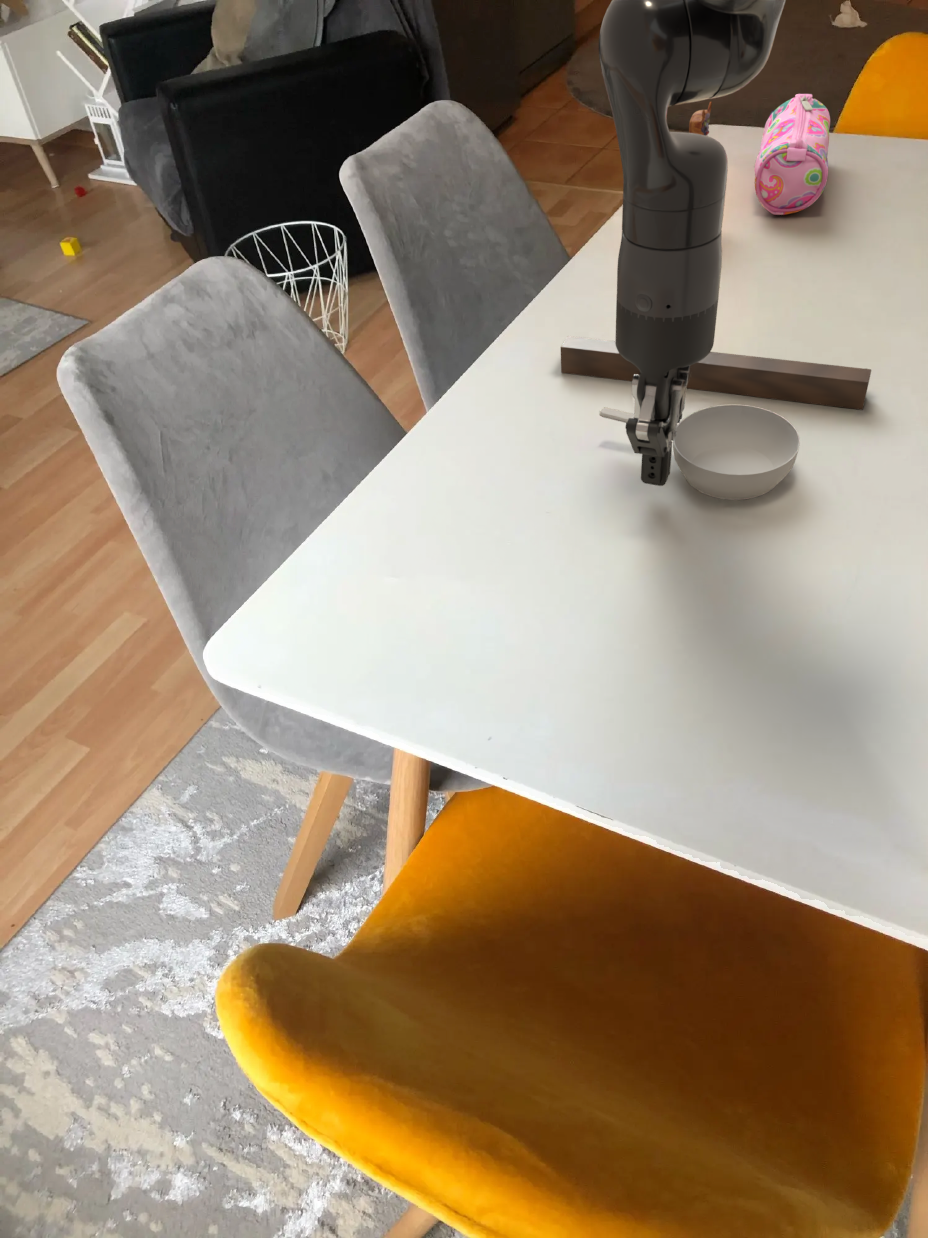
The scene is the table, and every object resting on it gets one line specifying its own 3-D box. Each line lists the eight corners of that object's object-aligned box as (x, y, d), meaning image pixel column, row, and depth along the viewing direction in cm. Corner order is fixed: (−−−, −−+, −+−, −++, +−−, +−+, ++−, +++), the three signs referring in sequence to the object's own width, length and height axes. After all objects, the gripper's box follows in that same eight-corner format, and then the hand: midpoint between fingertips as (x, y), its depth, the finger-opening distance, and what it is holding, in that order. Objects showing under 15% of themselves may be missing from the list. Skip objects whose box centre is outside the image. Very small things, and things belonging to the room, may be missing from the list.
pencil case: (760, 156, 137) (768, 87, 131) (828, 157, 135) (839, 86, 129) (746, 218, 123) (754, 144, 117) (820, 220, 121) (833, 145, 114)
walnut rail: (865, 396, 93) (871, 369, 90) (862, 410, 91) (868, 382, 89) (568, 361, 102) (567, 335, 100) (560, 372, 101) (560, 346, 99)
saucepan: (776, 519, 81) (782, 482, 78) (578, 475, 88) (577, 440, 85) (807, 449, 87) (813, 413, 85) (620, 413, 94) (621, 379, 92)
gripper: (698, 337, 66) (680, 533, 78) (735, 256, 75) (714, 444, 87) (593, 326, 69) (591, 517, 81) (640, 249, 77) (632, 432, 89)
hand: (655, 479), depth 84 cm, fingers closed
